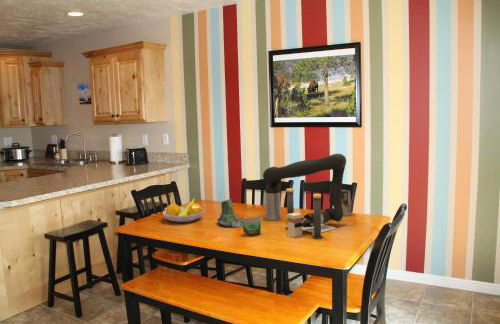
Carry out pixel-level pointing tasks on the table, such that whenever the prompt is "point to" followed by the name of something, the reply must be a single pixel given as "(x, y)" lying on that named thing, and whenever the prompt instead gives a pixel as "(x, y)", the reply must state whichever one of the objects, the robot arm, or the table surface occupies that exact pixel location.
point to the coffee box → (346, 202)
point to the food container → (251, 226)
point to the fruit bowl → (183, 212)
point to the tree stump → (229, 216)
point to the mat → (323, 228)
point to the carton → (292, 220)
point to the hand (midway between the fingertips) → (291, 224)
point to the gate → (316, 211)
